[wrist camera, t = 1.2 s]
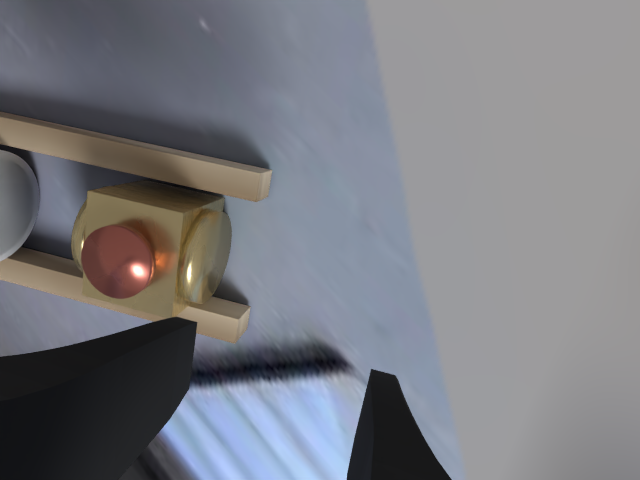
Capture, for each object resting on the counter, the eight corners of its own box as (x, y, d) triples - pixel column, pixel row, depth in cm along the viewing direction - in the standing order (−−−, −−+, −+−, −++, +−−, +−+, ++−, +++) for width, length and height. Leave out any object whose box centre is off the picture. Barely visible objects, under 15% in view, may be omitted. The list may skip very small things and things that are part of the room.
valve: (236, 200, 21) (185, 222, 16) (224, 289, 22) (173, 334, 18) (132, 176, 22) (54, 190, 17) (125, 264, 23) (51, 300, 18)
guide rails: (247, 329, 23) (234, 343, 21) (-53, 248, 25) (-84, 256, 23) (272, 170, 20) (260, 173, 19) (-58, 99, 23) (-91, 97, 21)
